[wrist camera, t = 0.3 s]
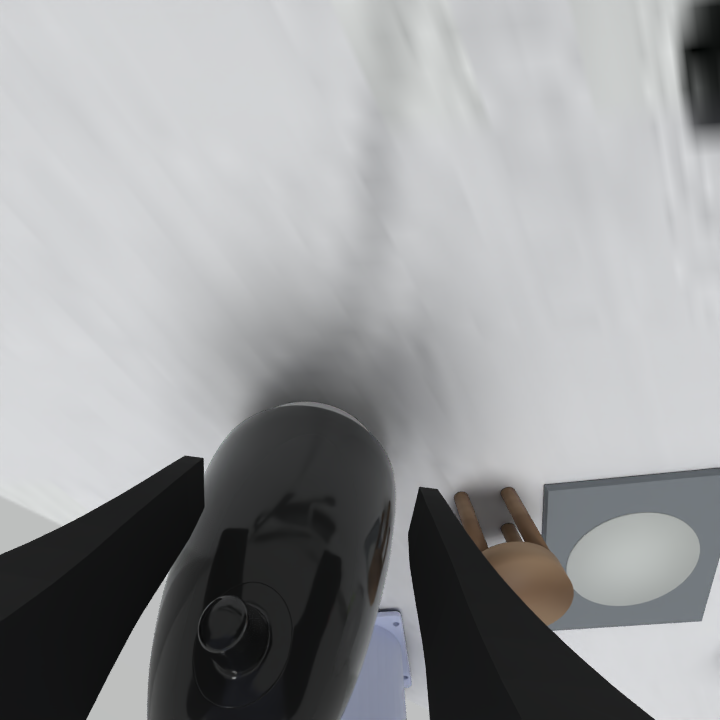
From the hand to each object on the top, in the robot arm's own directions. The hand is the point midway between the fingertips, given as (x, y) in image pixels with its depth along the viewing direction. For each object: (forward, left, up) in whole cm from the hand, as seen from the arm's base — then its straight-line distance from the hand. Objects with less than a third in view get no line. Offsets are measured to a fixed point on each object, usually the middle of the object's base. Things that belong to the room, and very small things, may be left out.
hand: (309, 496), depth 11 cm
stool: (-12, -9, -10) cm, 18 cm away
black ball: (-5, +2, -10) cm, 11 cm away
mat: (-17, -19, -10) cm, 27 cm away
